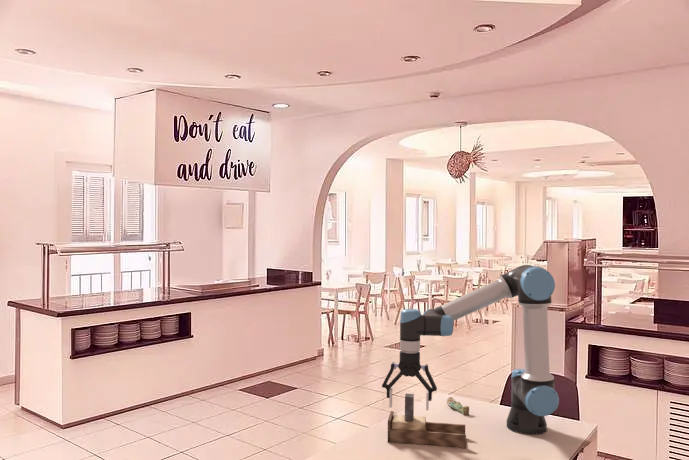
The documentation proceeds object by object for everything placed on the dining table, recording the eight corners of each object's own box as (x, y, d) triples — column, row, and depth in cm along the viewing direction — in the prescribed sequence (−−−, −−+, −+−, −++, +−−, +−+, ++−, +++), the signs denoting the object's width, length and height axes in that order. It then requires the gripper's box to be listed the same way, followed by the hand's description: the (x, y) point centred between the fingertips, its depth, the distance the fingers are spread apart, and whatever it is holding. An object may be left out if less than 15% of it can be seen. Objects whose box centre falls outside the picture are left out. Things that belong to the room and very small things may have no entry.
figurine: (457, 416, 234) (457, 406, 234) (444, 404, 249) (444, 396, 249) (469, 415, 235) (469, 406, 235) (455, 404, 250) (456, 395, 250)
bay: (465, 437, 210) (465, 416, 210) (465, 448, 199) (466, 426, 199) (390, 431, 215) (391, 410, 215) (387, 442, 204) (387, 420, 204)
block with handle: (425, 432, 211) (426, 393, 211) (424, 441, 203) (425, 399, 203) (393, 430, 214) (394, 391, 214) (391, 438, 205) (392, 397, 205)
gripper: (443, 350, 210) (443, 407, 210) (377, 347, 214) (377, 402, 214) (443, 355, 202) (442, 413, 202) (375, 351, 207) (374, 408, 207)
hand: (408, 408), depth 208 cm, fingers open, 13 cm apart
